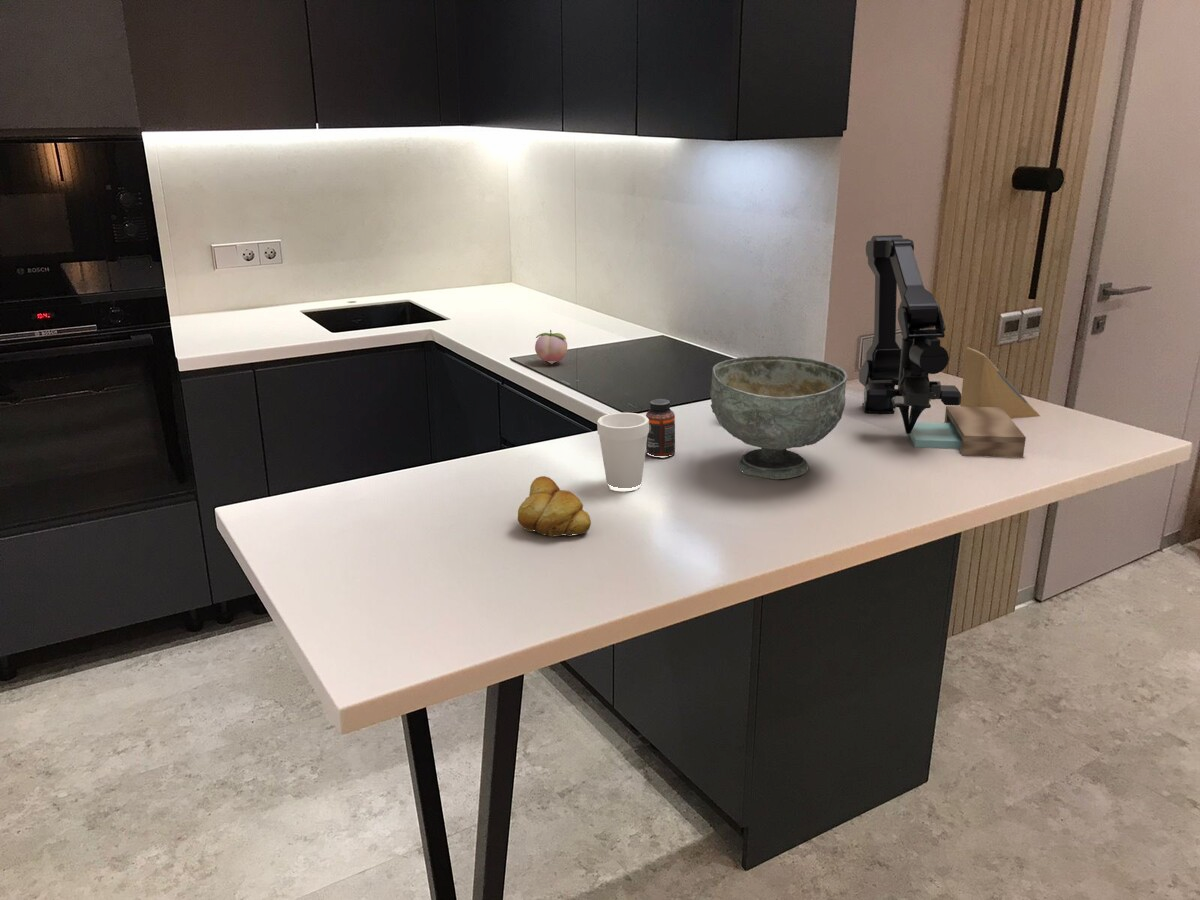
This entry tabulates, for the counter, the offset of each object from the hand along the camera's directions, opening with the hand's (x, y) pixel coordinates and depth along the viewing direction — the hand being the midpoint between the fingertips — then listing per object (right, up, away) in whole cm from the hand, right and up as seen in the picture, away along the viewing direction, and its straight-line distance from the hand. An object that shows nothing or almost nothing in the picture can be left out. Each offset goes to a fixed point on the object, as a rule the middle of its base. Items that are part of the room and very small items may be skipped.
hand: (908, 433), depth 197 cm
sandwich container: (+26, +5, +15) cm, 30 cm away
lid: (+7, -2, 0) cm, 7 cm away
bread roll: (-73, -17, -39) cm, 84 cm away
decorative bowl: (-31, -7, -15) cm, 35 cm away
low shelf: (+15, -1, -2) cm, 15 cm away
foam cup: (-60, -11, -21) cm, 65 cm away
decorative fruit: (-79, +20, +67) cm, 105 cm away
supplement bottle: (-53, -5, -5) cm, 53 cm away
